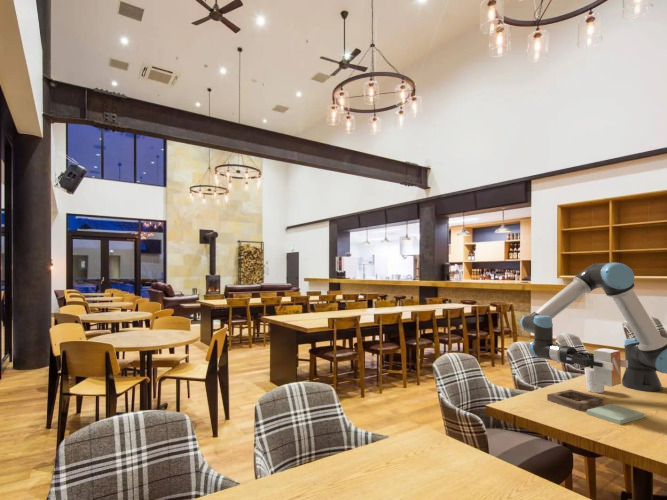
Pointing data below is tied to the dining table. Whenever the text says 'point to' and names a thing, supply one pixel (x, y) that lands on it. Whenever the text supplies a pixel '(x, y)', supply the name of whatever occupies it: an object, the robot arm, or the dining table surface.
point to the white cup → (592, 381)
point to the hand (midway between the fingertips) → (619, 365)
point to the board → (615, 413)
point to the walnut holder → (563, 396)
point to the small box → (606, 375)
